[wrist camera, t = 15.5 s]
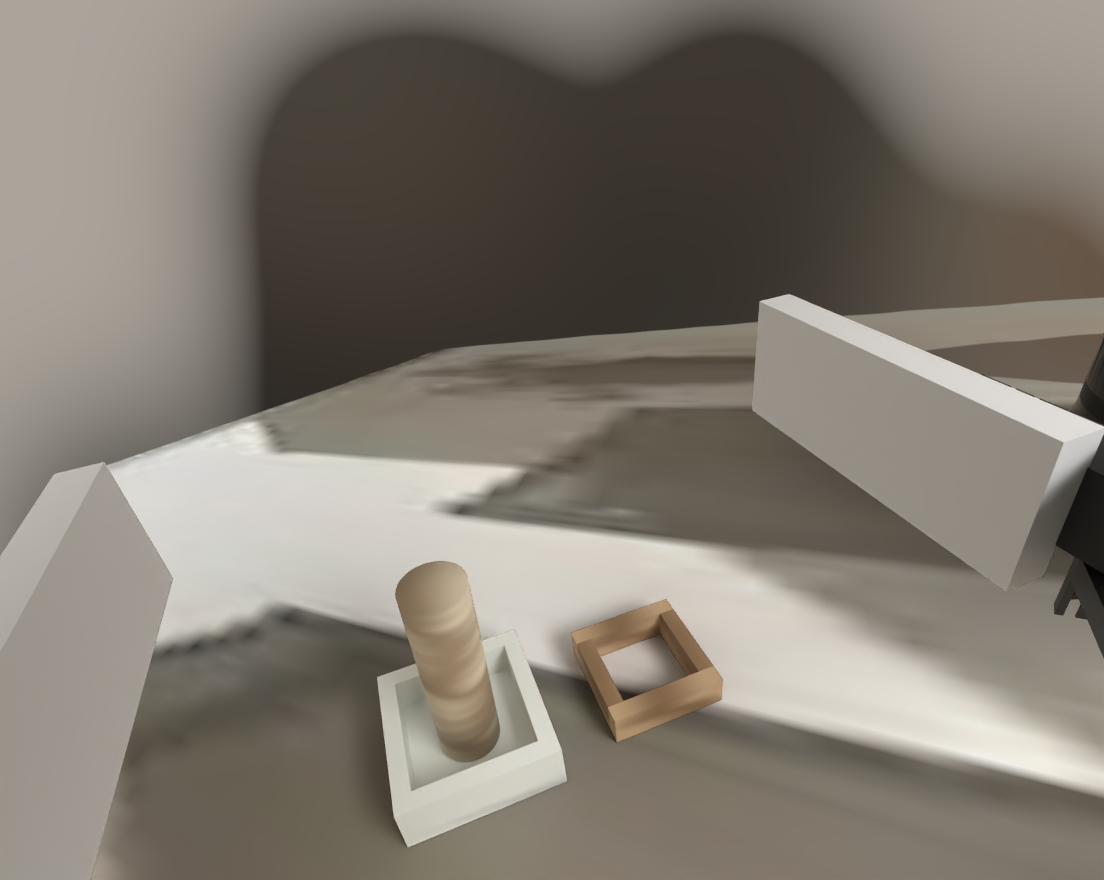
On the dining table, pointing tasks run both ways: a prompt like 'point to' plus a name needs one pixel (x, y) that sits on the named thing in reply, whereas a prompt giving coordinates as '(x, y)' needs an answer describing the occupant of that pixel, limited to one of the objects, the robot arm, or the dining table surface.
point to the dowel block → (657, 703)
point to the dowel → (450, 658)
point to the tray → (467, 787)
